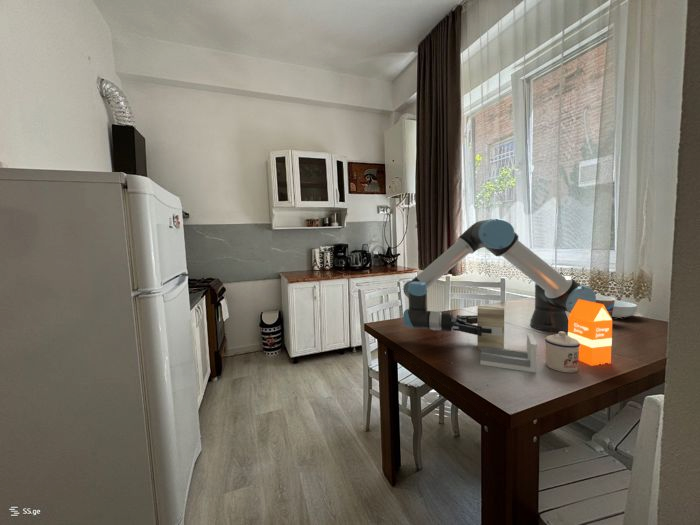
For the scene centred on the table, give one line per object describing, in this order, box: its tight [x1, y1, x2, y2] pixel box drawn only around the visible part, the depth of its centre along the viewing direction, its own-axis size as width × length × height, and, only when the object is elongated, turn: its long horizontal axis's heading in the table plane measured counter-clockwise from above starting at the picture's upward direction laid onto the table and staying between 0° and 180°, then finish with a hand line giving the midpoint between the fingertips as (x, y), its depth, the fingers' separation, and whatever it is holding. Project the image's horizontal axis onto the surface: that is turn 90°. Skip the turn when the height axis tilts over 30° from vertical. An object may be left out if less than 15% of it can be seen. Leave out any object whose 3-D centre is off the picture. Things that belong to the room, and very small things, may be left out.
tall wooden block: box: [476, 305, 505, 350], centre depth 111 cm, size 4×9×16 cm, turn 64°
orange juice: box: [567, 299, 613, 367], centre depth 99 cm, size 8×9×20 cm
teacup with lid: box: [544, 331, 580, 374], centre depth 95 cm, size 12×9×12 cm
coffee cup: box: [595, 295, 617, 319], centre depth 138 cm, size 10×10×12 cm
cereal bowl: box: [612, 300, 638, 318], centre depth 147 cm, size 17×17×7 cm
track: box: [479, 332, 538, 374], centre depth 99 cm, size 16×11×9 cm
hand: (501, 326), depth 109 cm, fingers open, 12 cm apart
